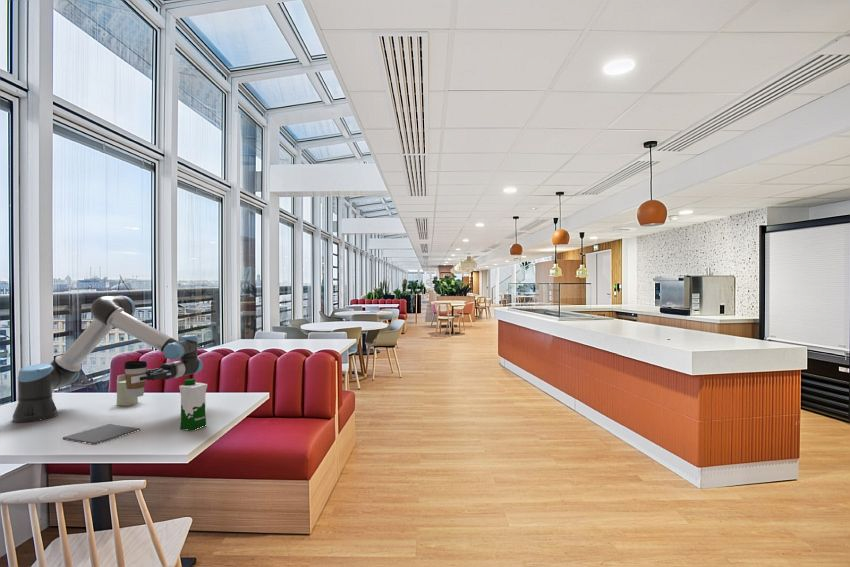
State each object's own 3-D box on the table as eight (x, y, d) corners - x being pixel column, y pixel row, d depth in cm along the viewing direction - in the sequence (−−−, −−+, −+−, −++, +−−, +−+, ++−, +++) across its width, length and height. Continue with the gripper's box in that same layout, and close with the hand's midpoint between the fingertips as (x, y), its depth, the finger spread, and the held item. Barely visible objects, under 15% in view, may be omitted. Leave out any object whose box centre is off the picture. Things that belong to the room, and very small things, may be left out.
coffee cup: (126, 394, 197) (126, 360, 197) (148, 392, 200) (148, 359, 200) (121, 399, 189) (122, 363, 189) (145, 397, 192) (145, 362, 192)
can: (126, 400, 232) (126, 377, 232) (142, 401, 231) (142, 378, 231) (111, 405, 223) (111, 381, 223) (128, 405, 222) (128, 381, 222)
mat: (62, 439, 173) (62, 437, 173) (109, 425, 190) (109, 423, 190) (94, 444, 167) (94, 442, 167) (140, 430, 184) (140, 428, 184)
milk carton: (194, 423, 192) (194, 377, 193) (210, 425, 189) (210, 378, 190) (176, 429, 184) (176, 381, 184) (192, 432, 181) (193, 382, 181)
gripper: (187, 379, 208) (142, 390, 186) (155, 376, 215) (108, 386, 193) (188, 363, 208) (142, 372, 186) (156, 361, 215) (108, 369, 193)
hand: (124, 379), depth 190 cm, fingers closed on coffee cup, 7 cm apart
